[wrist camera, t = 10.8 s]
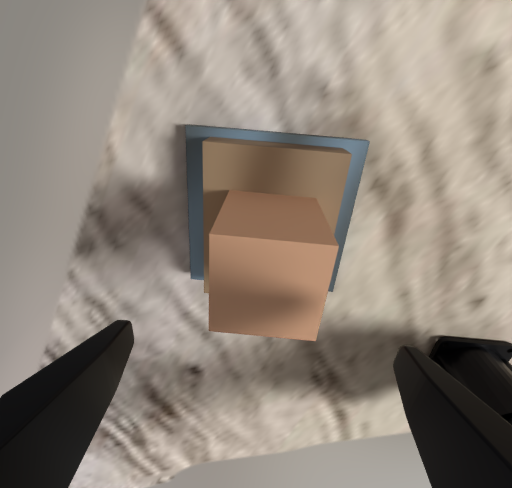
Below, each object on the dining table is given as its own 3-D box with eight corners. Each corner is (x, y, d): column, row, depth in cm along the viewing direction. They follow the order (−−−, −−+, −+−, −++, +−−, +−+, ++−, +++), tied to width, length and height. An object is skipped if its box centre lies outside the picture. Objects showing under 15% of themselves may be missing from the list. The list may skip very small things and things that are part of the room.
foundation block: (365, 139, 17) (382, 146, 15) (330, 285, 22) (338, 310, 20) (188, 124, 17) (174, 128, 15) (193, 273, 22) (182, 296, 20)
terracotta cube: (316, 197, 16) (338, 246, 11) (302, 271, 18) (315, 341, 13) (229, 190, 16) (209, 233, 11) (226, 264, 18) (208, 331, 13)
